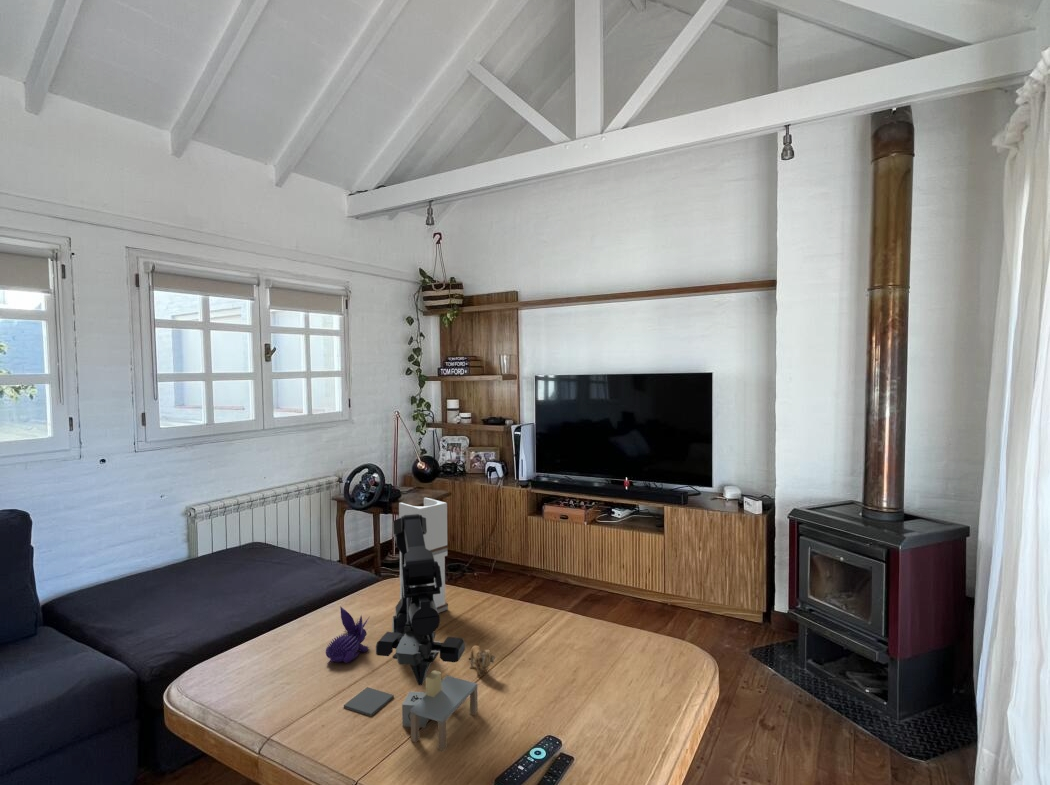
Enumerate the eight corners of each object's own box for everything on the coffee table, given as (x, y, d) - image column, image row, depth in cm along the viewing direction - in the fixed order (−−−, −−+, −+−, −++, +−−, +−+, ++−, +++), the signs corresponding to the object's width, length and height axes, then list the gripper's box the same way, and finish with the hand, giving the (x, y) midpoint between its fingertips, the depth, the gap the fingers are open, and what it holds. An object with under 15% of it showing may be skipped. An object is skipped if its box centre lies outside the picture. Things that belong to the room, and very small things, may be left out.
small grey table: (410, 740, 115) (410, 690, 115) (447, 704, 128) (447, 658, 128) (443, 751, 112) (442, 699, 112) (477, 712, 125) (477, 666, 124)
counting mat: (343, 707, 127) (343, 705, 127) (367, 689, 135) (367, 687, 135) (371, 716, 124) (371, 713, 124) (393, 697, 131) (393, 694, 131)
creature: (383, 642, 159) (382, 600, 158) (339, 674, 142) (339, 627, 141) (358, 636, 162) (357, 595, 161) (313, 667, 145) (312, 621, 145)
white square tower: (448, 609, 180) (446, 502, 179) (421, 619, 172) (419, 508, 171) (427, 599, 188) (425, 497, 187) (400, 609, 180) (398, 503, 179)
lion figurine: (497, 679, 139) (497, 650, 139) (482, 684, 137) (482, 655, 136) (475, 658, 149) (475, 632, 149) (461, 663, 147) (460, 636, 146)
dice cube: (409, 713, 125) (409, 691, 125) (431, 714, 125) (430, 692, 125) (402, 727, 120) (402, 704, 120) (424, 728, 120) (424, 706, 120)
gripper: (363, 628, 115) (364, 701, 115) (449, 635, 111) (450, 711, 112) (386, 605, 126) (387, 673, 126) (465, 611, 122) (465, 680, 123)
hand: (421, 684), depth 121 cm, fingers closed
